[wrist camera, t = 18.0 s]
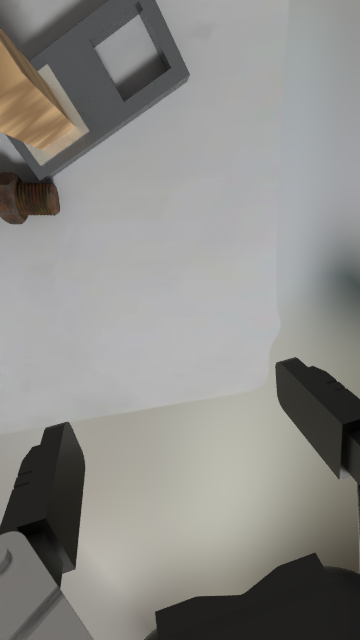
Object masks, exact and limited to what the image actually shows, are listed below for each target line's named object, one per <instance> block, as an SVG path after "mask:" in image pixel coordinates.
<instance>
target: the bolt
mask: <svg viewBox="0 0 360 640" xmlns="http://www.w3.org/2000/svg"><path fill="white" fill-rule="evenodd" d="M59 211H60V204H59V197H58V192H57V188H56V186H54V185H53V184H52V183H51V184H49V183H47V184H46V183H44V184H43V183H41V184H39V183H37V184H36V183H34V184H33V183H30V184H29V183H28V182H27V184H26V183H23V182H22V180H21V179H20V178H19V177H18V176H17V175H15V174H14V173H10V172H1V173H0V217H1V218H2V219H3V220H5V221H6V222H8V223H10V224H23V223H24V222H25V221H26V219H27V218H28V215H42V214H43V215H54V216H55V215H56V214H57V213H59Z"/></svg>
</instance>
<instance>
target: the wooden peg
mask: <svg viewBox="0 0 360 640" xmlns="http://www.w3.org/2000/svg"><path fill="white" fill-rule="evenodd" d="M73 127H75V126H74V124H73V123H72V121H71V120H70V118H69V117H68V115H67V113H66V112H65V110H64V109H63V107H62V106H61V104H60V103H59V101H58V99H57V98H56V96H55V95H54V93H53V92H52V90H51V89H50V87H49V85H48V84H47V82H46V81H45V80H44V79H43V78H42V76H41V75H40V74H39V73H38V72H37V71H36V69H35V68H34V67H33V66H32V65H31V64H30V62H29V61H28V60H27V59H26V58H25V57H24V55H23V54H22V53H21V52H20V51H19V49H18V48H17V47H16V46H15V45H14V44H13V42H12V41H11V40H10V39H9V38H8V37H7V35H6V34H5V33H4V32H3V31H2V30H1V28H0V132H2V133H4V134H6V135H9V136H11V137H13V138H15V139H18V140H20V141H22V142H24V143H27V144H29V145H31V146H33V147H36V148H38V149H40V150H43V149H44V148H46V147H47V146H48V145H50V144H51V143H53V142H54V141H55V140H57V139H58V138H59V137H61V136H62V135H64V134H65V133H66V132H68V131H69V130H70V129H72V128H73Z"/></svg>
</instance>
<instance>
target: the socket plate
mask: <svg viewBox="0 0 360 640" xmlns="http://www.w3.org/2000/svg"><path fill="white" fill-rule="evenodd" d="M138 14H139V15H140V17H141V19H142V21H143V23H144V25H145V27H146V29H147V31H148V33H149V35H150V37H151V39H152V41H153V43H154V45H155V47H156V49H157V51H158V53H159V55H160V57H161V59H162V61H163V63H164V65H165V67H166V70H167V71H166V72H165V73H164V74H162V75H161V76H159V77H158V78H157V79H155V80H154V81H152V82H151V83H150V84H148V85H147V86H146V87H144V88H143V89H141V90H140V91H139V92H137V93H136V94H134V95H133V96H132V97H130V98H129V99H127V100H126V101H125V102H124V101H123V99H122V98H121V96H120V94H119V92H118V90H117V89H116V87H115V85H114V83H113V82H112V80H111V78H110V76H109V74H108V73H107V71H106V69H105V67H104V66H103V64H102V62H101V60H100V58H99V57H98V55H97V53H96V51H95V50H94V47H95V46H97V45H98V44H99V43H101V42H102V41H103V40H105V39H106V38H107V37H109V36H110V35H111V34H113V33H114V32H115V31H117V30H118V29H119V28H121V27H122V26H123V25H125V24H126V23H127V22H129V21H130V20H131V19H133V18H134V17H135V16H137V15H138ZM29 62H30V64H31V65H32V66H33V67H34V68H35V69H36V71H37V72H38V73H39V74H40V75H41V76H42V78H43V79H44V80H45V81H46V82H47V84H48V85H49V87H50V89H51V90H52V92H53V93H54V95H55V96H56V98H57V99H58V101H59V103H60V104H61V106H62V107H63V109H64V110H65V112H66V113H67V115H68V117H69V118H70V120H71V121H72V123H73V124H74V126H75V127H73V128H72V129H70V130H69V131H68V132H66V133H65V134H64V135H62V136H61V137H59V138H58V139H57V140H55V141H54V142H53V143H51V144H50V145H48V146H47V147H46V148H44V149H43V150H40V149H38V148H36V147H33V146H31V145H29V144H27V143H24V142H22V141H20V140H18V139H15V138H13V137H11V136H9V135H6V136H7V137H8V138H9V140H10V141H11V142H12V144H13V145H14V146H15V148H16V149H17V151H18V152H19V153H20V155H21V156H22V157H23V159H24V160H25V161H26V163H27V164H28V165H29V167H30V168H31V170H32V171H33V172H34V174H35V175H36V176H37V178H38V179H39V180H40V181H44V182H46V181H47V180H49V179H50V178H52V177H53V176H54V175H56V174H57V173H59V172H60V171H62V170H63V169H64V168H66V167H67V166H69V165H70V164H71V163H73V162H74V161H76V160H77V159H78V158H80V157H81V156H83V155H84V154H86V153H87V152H88V151H90V150H91V149H93V148H94V147H95V146H97V145H98V144H100V143H101V142H102V141H104V140H105V139H107V138H108V137H110V136H111V135H112V134H114V133H115V132H117V131H118V130H119V129H121V128H122V127H124V126H125V125H126V124H128V123H129V122H131V121H132V120H134V119H135V118H136V117H138V116H139V115H141V114H142V113H143V112H145V111H146V110H148V109H149V108H151V107H152V106H153V105H155V104H156V103H158V102H159V101H160V100H162V99H163V98H165V97H166V96H167V95H169V94H170V93H172V92H173V91H175V90H176V89H177V88H179V87H180V86H182V85H183V84H184V83H186V82H187V80H188V78H189V75H190V74H189V72H188V69H187V67H186V65H185V63H184V61H183V59H182V57H181V54H180V52H179V50H178V48H177V46H176V44H175V42H174V39H173V37H172V35H171V33H170V31H169V29H168V27H167V24H166V22H165V20H164V18H163V16H162V14H161V12H160V9H159V7H158V5H157V3H156V1H155V0H108V1H107V2H106V3H104V4H103V5H102V6H100V7H99V8H98V9H96V10H95V11H94V12H93V13H91V14H90V15H89V16H87V17H86V18H85V19H83V20H82V21H81V22H79V23H78V24H77V25H76V26H74V27H73V28H72V29H70V30H69V31H68V32H66V33H65V34H64V35H63V36H61V37H60V38H59V39H57V40H56V41H55V42H53V43H52V44H51V45H50V46H48V47H47V48H46V49H44V50H43V51H42V52H40V53H39V54H38V55H37V56H35V57H34V58H33V59H31V60H30V61H29Z"/></svg>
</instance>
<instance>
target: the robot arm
mask: <svg viewBox="0 0 360 640" xmlns="http://www.w3.org/2000/svg"><path fill="white" fill-rule="evenodd" d="M275 368H276V383H277V396H278V400H279V403H280V405H281V407H282V408H283V410H284V411H285V412H286V414H287V415H288V416H289V417H290V419H291V420H292V421H293V422H294V424H295V425H296V426H297V428H298V429H299V430H300V431H301V433H302V434H303V435H304V436H305V437H306V439H307V440H308V441H309V443H310V444H311V445H312V446H313V448H314V449H315V450H316V451H317V453H318V454H319V455H320V456H321V458H322V459H323V460H324V461H325V463H326V464H327V465H328V466H329V467H330V469H331V470H332V471H333V472H334V474H335V475H336V476H337V477H338V479H339V480H341V479H344V478H347V477H350V476H352V477H353V478H354V479H355V481H356V482H357V505H358V524H359V525H358V526H359V547H360V399H359V398H358V397H357V396H355V395H354V394H353V393H352V392H350V391H349V390H348V389H345V387H344V386H343V385H342V384H341V383H340V382H337V381H336V379H335V378H333V377H332V376H331V375H330V374H329V373H327V372H326V371H324V370H321V369H319V368H316V367H314V366H311V367H307V366H306V365H305V364H304V363H302V362H301V361H300V360H299V359H298V358H296V357H295V358H291V359H287V360H284V361H280V362H277V363H276V366H275ZM84 476H85V460H84V455H83V452H82V450H81V447H80V445H79V443H78V441H77V438H76V436H75V434H74V431H73V429H72V427H71V425H70V423H69V422H64V423H61V424H57V425H54V426H50V427H47V428H45V430H44V434H43V437H42V440H41V444H40V445H38V446H34V447H32V448H31V450H30V451H29V453H28V454H27V455H26V457H25V458H24V459H23V461H22V463H21V466H20V470H19V473H18V477H17V478H16V481H15V485H14V490H12V493H11V496H10V499H9V502H8V505H7V508H6V511H5V514H4V517H3V520H2V523H1V526H0V640H94V639H93V638H92V637H91V635H90V633H89V632H88V630H87V629H86V627H85V626H84V624H83V623H82V621H81V620H80V618H79V617H78V615H77V614H76V612H75V611H74V609H73V608H72V606H71V605H70V603H69V602H68V600H67V599H66V597H65V596H64V594H63V593H62V591H61V590H60V586H61V578H62V574H63V573H66V572H69V571H72V570H75V568H76V558H77V547H78V537H79V526H80V517H81V506H82V497H83V486H84ZM155 615H156V624H157V628H156V629H155V630H153V631H152V632H151V633H150V634H149V635H148V636H147V637H146V638H145V639H144V640H360V549H359V573H357V572H354V571H352V570H348V569H344V568H340V567H332V566H323V565H322V564H321V562H320V560H319V558H318V557H317V555H316V553H313V554H310V555H308V556H305V557H302V558H299V559H297V560H294V561H291V562H289V563H286V564H283V565H280V566H278V567H277V568H275V569H274V570H273V571H272V572H270V573H269V574H268V575H267V576H265V577H264V578H263V579H262V580H261V581H259V582H258V583H257V584H256V585H254V586H253V587H252V588H251V589H249V590H248V591H247V592H246V593H244V594H242V595H232V596H199V597H194V598H191V599H189V600H186V601H183V602H181V603H178V604H175V605H172V606H170V607H167V608H164V609H162V610H159V611H156V612H155Z"/></svg>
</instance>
